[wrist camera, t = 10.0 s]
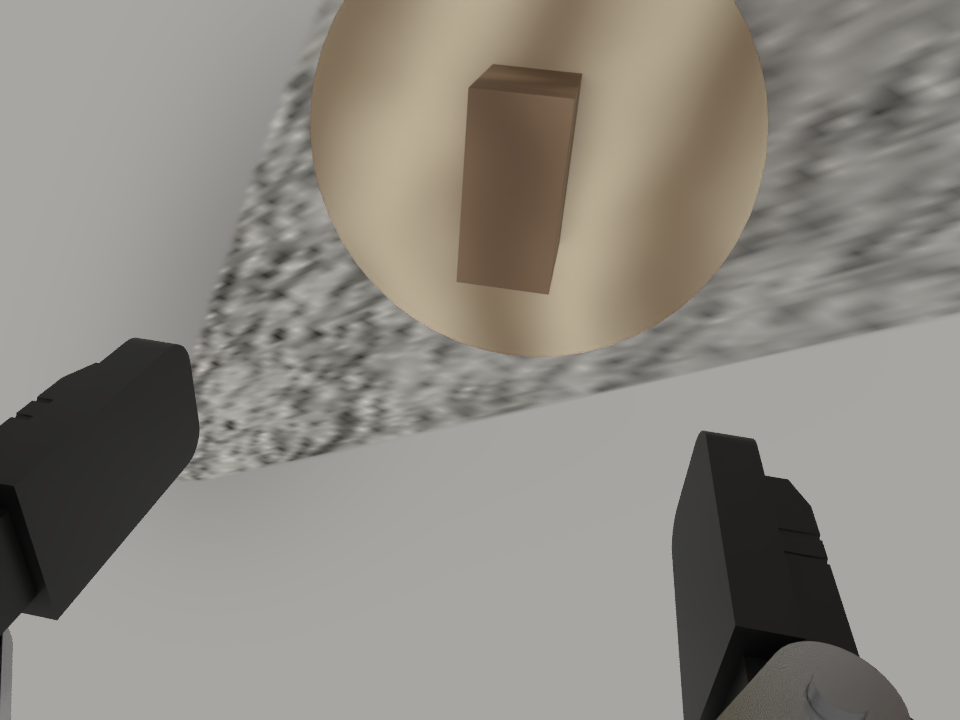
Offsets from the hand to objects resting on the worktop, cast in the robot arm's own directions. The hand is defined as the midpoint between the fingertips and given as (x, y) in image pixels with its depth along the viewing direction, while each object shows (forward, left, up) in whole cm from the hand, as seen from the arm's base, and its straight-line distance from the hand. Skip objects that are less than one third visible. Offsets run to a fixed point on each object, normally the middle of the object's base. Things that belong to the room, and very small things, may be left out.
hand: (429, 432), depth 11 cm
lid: (0, 0, -18) cm, 18 cm away
